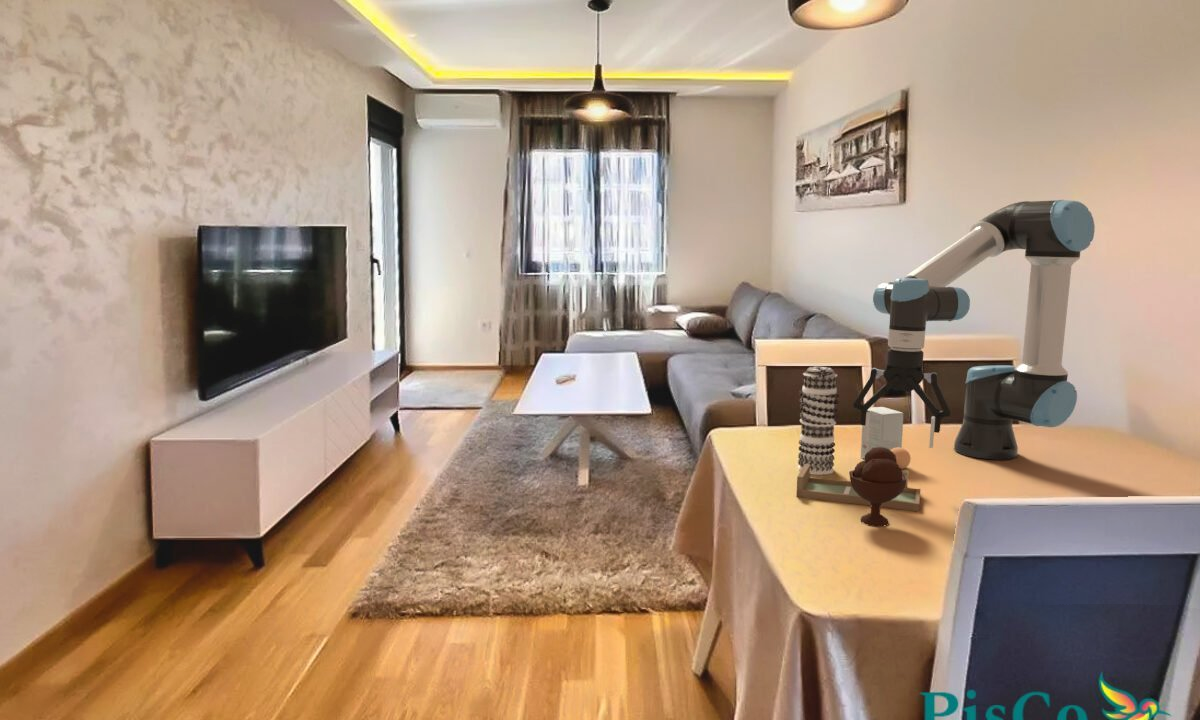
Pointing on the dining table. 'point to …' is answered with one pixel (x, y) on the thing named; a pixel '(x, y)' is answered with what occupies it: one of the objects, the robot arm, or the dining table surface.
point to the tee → (905, 474)
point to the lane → (849, 492)
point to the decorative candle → (818, 420)
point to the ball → (901, 457)
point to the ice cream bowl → (877, 482)
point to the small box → (883, 430)
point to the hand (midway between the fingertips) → (898, 443)
